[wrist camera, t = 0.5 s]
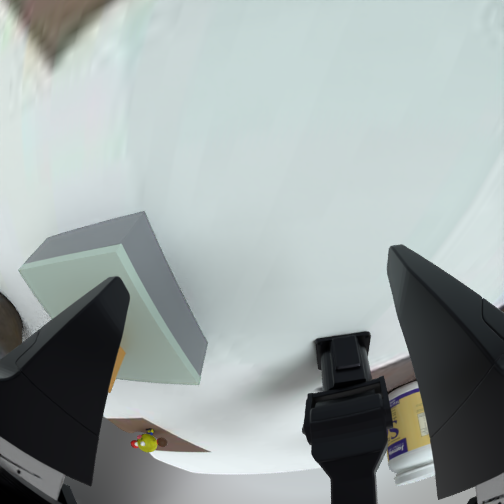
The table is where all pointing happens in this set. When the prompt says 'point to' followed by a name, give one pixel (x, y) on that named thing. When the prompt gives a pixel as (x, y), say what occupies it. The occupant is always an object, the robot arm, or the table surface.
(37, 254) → the tub
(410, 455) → the supplement tub
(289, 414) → the table surface
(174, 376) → the lid
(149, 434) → the toy figure
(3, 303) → the pitcher
